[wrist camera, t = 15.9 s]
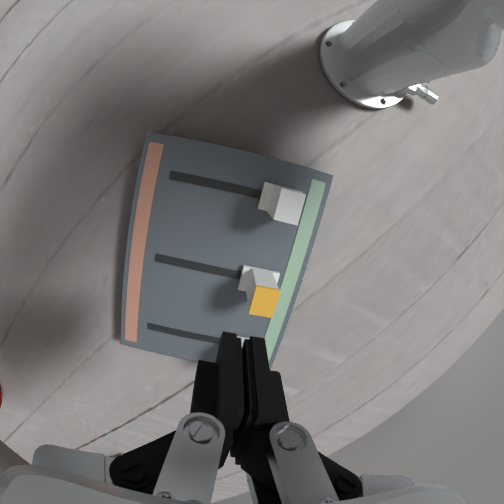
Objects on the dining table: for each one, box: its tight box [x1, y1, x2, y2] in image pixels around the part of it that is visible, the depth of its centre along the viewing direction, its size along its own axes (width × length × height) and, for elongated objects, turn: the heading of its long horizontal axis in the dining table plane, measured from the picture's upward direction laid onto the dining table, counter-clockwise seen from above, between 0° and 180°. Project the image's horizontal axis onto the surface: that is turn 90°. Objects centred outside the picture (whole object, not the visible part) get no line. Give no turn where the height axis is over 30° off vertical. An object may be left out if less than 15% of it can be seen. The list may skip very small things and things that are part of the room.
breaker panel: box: [121, 132, 333, 369], centre depth 32 cm, size 20×26×3 cm
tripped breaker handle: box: [238, 265, 281, 318], centre depth 29 cm, size 4×3×5 cm
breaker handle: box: [258, 182, 306, 226], centre depth 27 cm, size 4×3×5 cm
